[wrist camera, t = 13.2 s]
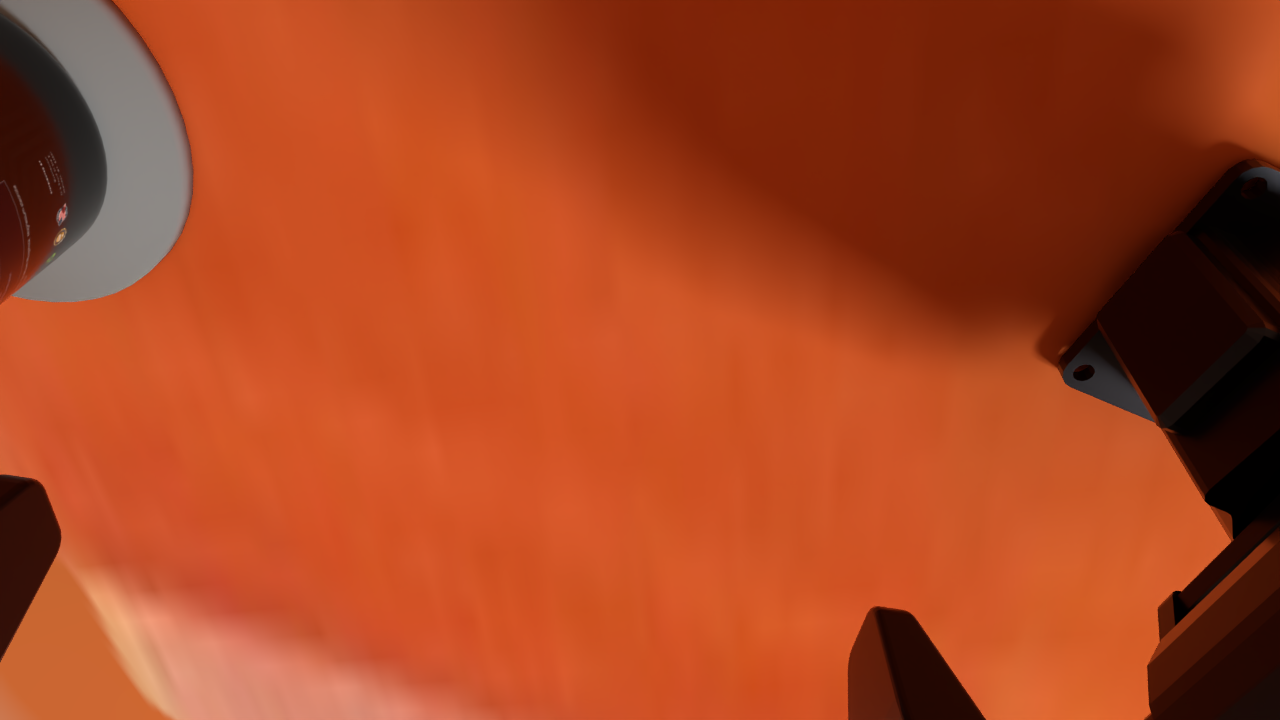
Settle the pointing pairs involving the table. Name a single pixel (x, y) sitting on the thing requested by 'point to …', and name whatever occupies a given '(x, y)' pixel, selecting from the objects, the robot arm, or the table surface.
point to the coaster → (115, 147)
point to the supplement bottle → (43, 160)
